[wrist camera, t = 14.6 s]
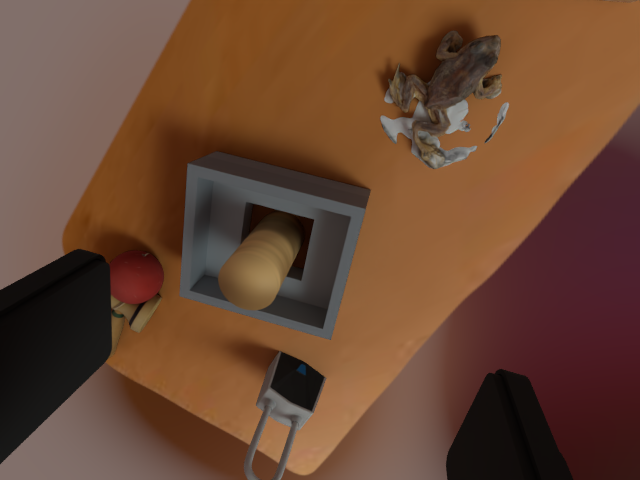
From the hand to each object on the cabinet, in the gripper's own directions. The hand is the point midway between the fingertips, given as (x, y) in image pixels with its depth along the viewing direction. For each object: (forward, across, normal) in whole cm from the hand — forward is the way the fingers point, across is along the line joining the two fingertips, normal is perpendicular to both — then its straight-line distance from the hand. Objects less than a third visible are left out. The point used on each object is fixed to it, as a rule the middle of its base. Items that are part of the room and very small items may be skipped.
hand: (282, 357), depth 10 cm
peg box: (+30, +7, +11) cm, 33 cm away
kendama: (+31, +24, +25) cm, 47 cm away
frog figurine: (+31, -5, -6) cm, 32 cm away
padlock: (+31, +2, +29) cm, 42 cm away
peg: (+30, +7, +11) cm, 33 cm away
